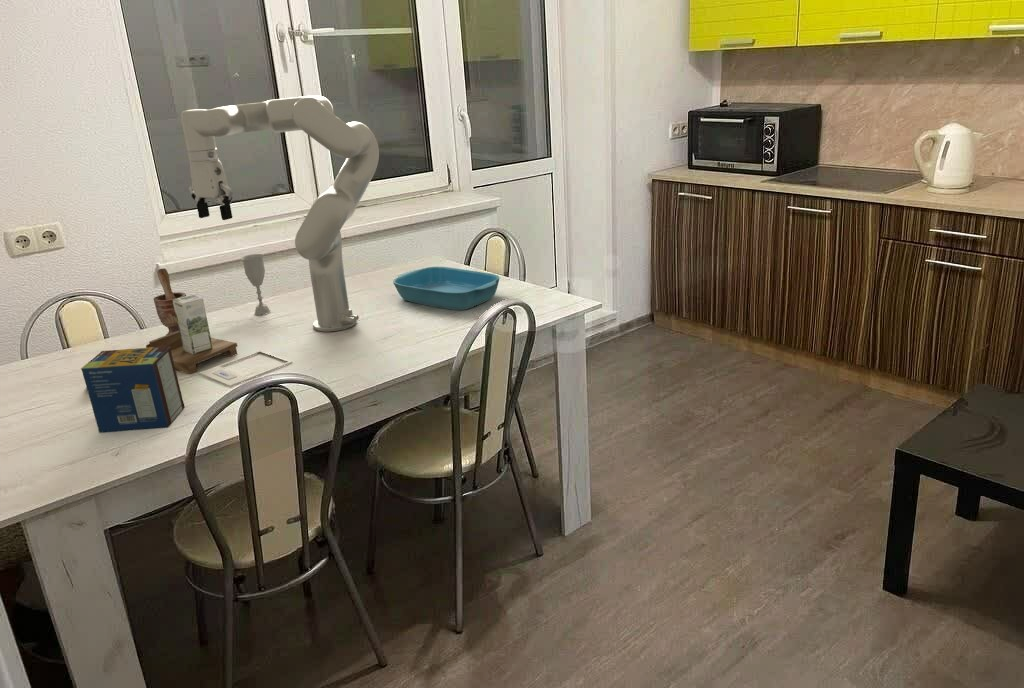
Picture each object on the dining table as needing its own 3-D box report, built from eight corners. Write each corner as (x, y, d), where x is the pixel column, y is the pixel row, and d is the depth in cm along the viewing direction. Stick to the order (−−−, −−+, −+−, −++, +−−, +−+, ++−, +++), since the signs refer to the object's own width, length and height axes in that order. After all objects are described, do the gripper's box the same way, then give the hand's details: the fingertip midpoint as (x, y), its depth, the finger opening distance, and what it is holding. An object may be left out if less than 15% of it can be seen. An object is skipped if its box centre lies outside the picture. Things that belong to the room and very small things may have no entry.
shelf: (238, 353, 208) (234, 329, 206) (189, 374, 195) (183, 349, 193) (205, 345, 215) (200, 322, 213) (155, 366, 202) (149, 341, 200)
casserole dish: (382, 300, 246) (379, 279, 244) (429, 282, 263) (427, 262, 260) (469, 318, 225) (467, 295, 222) (514, 297, 241) (513, 275, 239)
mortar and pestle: (153, 339, 223) (137, 273, 216) (180, 330, 229) (166, 265, 222) (172, 346, 216) (156, 278, 209) (200, 337, 222) (186, 271, 215)
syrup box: (203, 344, 207) (192, 293, 202) (214, 348, 204) (202, 297, 198) (183, 350, 204) (171, 299, 198) (193, 355, 200) (181, 302, 195)
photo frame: (198, 371, 195) (260, 349, 208) (199, 375, 195) (261, 353, 208) (229, 384, 186) (291, 360, 199) (230, 388, 186) (292, 364, 199)
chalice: (269, 315, 238) (259, 259, 231) (248, 316, 238) (237, 260, 231) (276, 308, 244) (267, 253, 238) (255, 309, 245) (245, 254, 238)
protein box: (118, 412, 176) (101, 350, 171) (185, 407, 177) (170, 345, 171) (97, 433, 166) (79, 368, 161) (169, 428, 167) (153, 362, 161)
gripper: (235, 155, 208) (247, 217, 214) (194, 154, 217) (206, 213, 223) (213, 158, 202) (225, 222, 208) (171, 157, 211) (184, 219, 217)
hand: (215, 218), depth 216 cm, fingers open, 9 cm apart
